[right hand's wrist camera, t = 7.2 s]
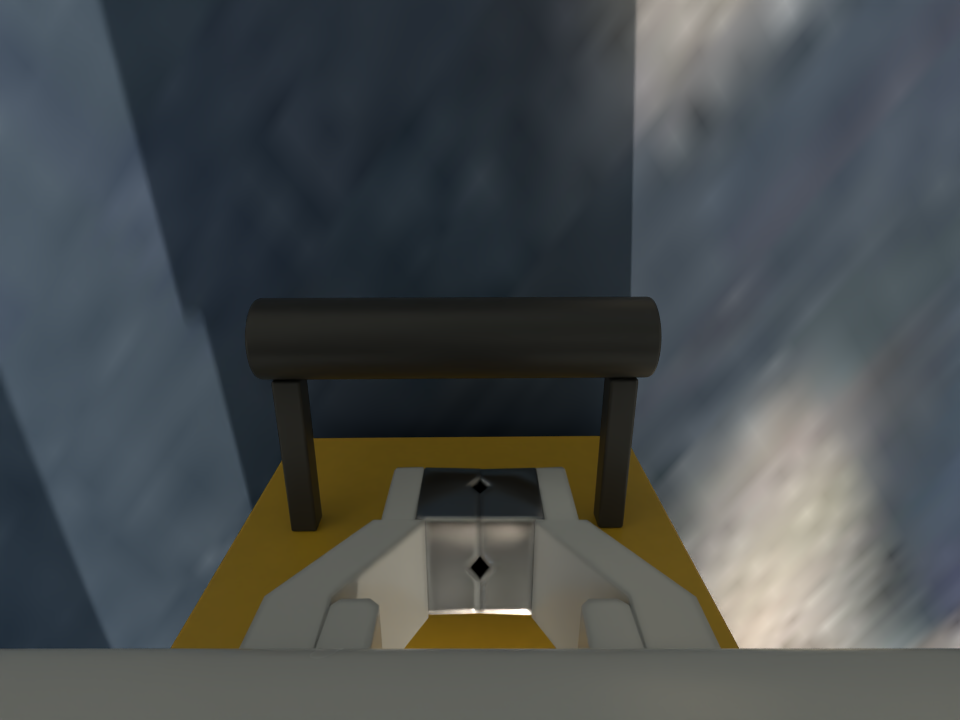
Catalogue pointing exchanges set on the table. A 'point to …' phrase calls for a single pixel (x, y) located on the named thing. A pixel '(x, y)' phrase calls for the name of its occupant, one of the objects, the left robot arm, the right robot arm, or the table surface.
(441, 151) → the table surface
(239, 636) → the drawer
